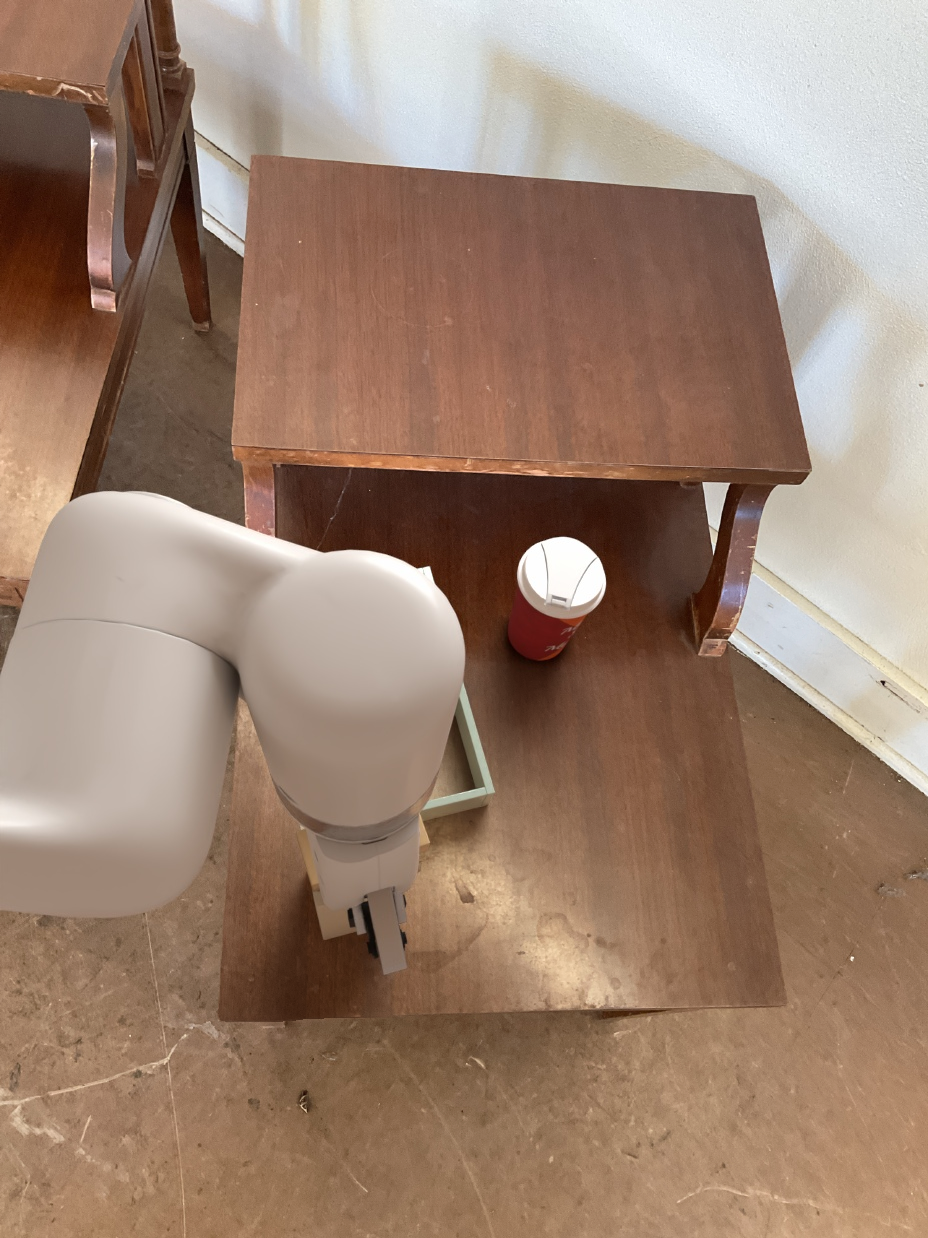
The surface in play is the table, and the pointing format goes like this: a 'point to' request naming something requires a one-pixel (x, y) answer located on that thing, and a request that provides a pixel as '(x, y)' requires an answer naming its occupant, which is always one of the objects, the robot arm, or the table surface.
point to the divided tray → (475, 760)
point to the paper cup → (553, 596)
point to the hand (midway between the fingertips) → (357, 835)
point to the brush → (309, 861)
